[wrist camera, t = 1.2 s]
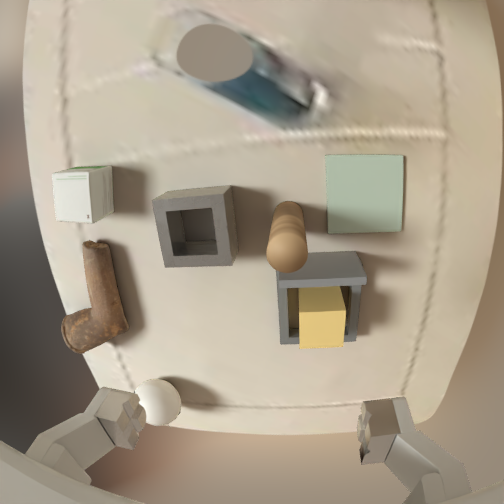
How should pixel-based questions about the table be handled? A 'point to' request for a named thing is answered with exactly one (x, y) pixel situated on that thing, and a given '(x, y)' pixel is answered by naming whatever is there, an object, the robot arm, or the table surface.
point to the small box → (83, 194)
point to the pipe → (96, 303)
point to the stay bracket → (173, 231)
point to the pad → (364, 193)
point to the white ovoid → (159, 401)
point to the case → (323, 275)
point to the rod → (287, 239)
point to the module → (321, 317)
